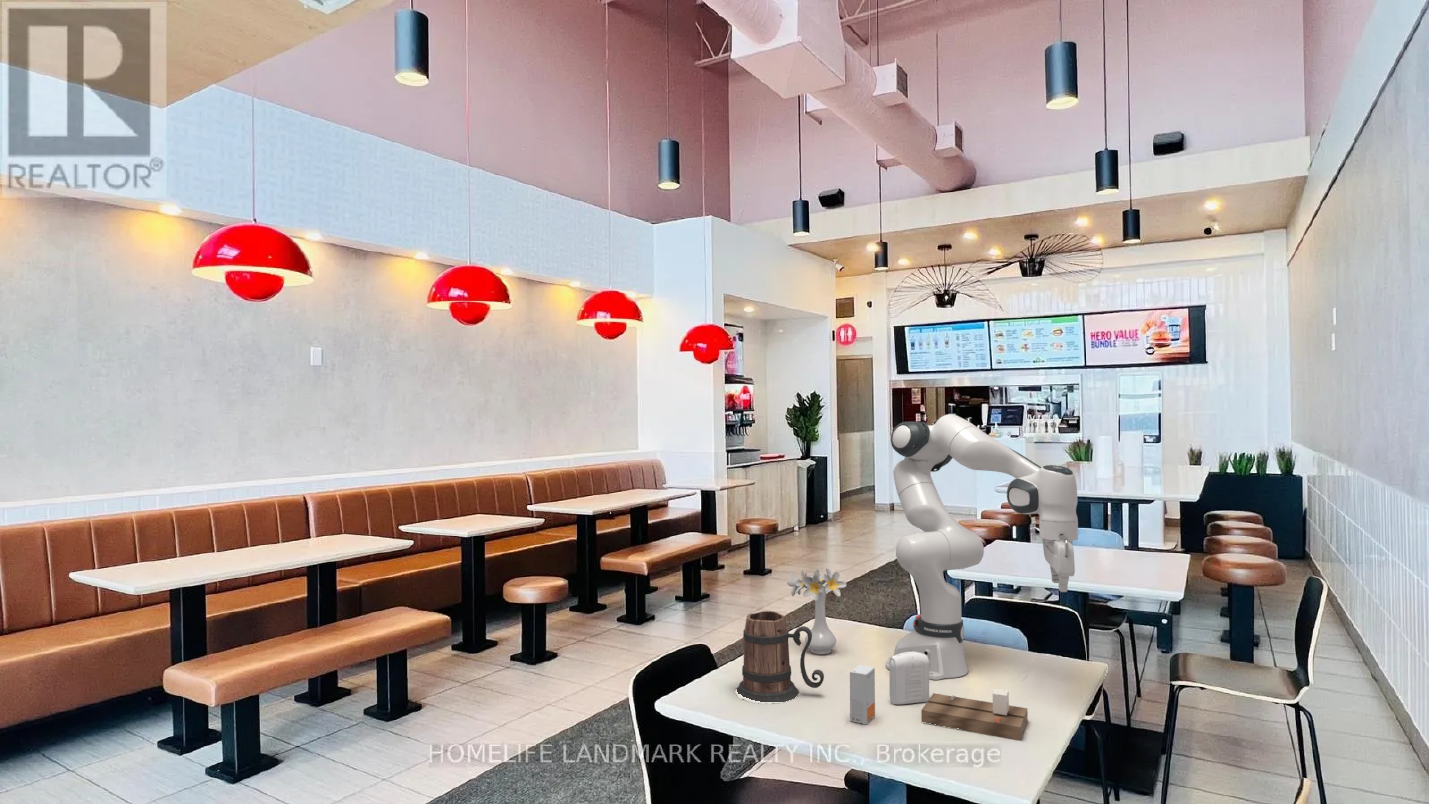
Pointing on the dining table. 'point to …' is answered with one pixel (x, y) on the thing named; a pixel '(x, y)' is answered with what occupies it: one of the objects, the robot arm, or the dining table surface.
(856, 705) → the skincare box
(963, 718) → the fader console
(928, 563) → the robot arm
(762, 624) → the tankard
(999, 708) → the fader knob
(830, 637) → the flower vase
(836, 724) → the dining table surface
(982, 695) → the dining table surface
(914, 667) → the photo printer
